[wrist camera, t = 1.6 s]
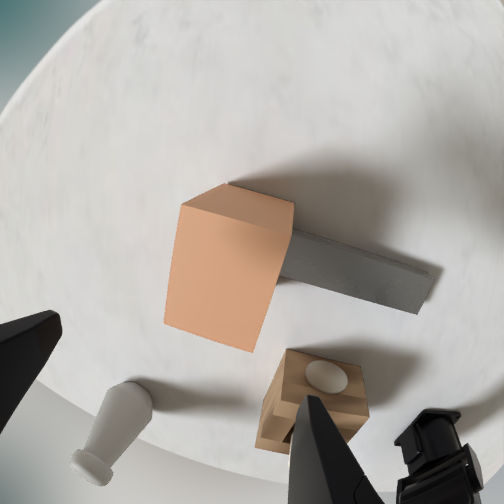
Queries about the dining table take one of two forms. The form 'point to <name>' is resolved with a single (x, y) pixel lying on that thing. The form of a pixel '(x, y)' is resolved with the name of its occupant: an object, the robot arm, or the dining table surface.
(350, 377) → the cabinet
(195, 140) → the dining table surface
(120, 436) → the salt shaker
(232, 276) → the block
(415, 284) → the rail
